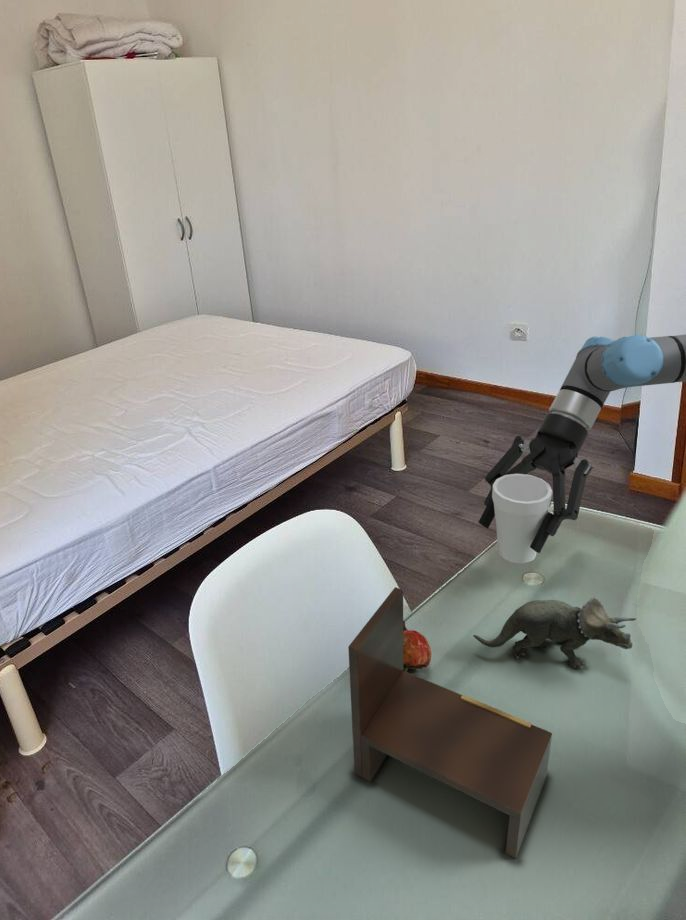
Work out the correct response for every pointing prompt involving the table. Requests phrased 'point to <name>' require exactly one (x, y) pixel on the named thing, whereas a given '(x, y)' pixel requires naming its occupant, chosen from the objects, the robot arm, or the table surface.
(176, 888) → the table surface
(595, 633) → the toy dinosaur
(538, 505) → the foam cup
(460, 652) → the table surface
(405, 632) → the pomegranate
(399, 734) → the shelf
